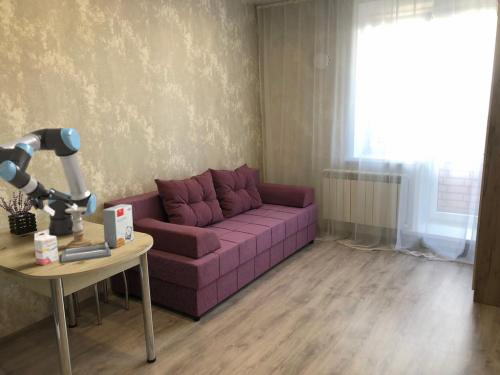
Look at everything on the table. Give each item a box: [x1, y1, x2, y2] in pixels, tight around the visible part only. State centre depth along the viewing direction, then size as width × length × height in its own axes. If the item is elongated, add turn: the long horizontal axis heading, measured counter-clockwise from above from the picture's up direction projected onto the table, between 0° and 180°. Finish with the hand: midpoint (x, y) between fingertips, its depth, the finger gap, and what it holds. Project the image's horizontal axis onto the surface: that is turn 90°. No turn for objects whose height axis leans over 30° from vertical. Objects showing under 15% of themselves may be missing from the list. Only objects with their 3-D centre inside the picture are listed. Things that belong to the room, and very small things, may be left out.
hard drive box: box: [102, 203, 134, 249], centre depth 213 cm, size 16×8×20 cm, turn 162°
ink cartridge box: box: [33, 229, 59, 266], centre depth 188 cm, size 9×5×15 cm, turn 157°
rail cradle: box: [61, 240, 112, 264], centre depth 197 cm, size 14×22×4 cm, turn 113°
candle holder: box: [65, 207, 93, 249], centre depth 210 cm, size 12×12×20 cm
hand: (65, 211), depth 193 cm, fingers open, 13 cm apart
